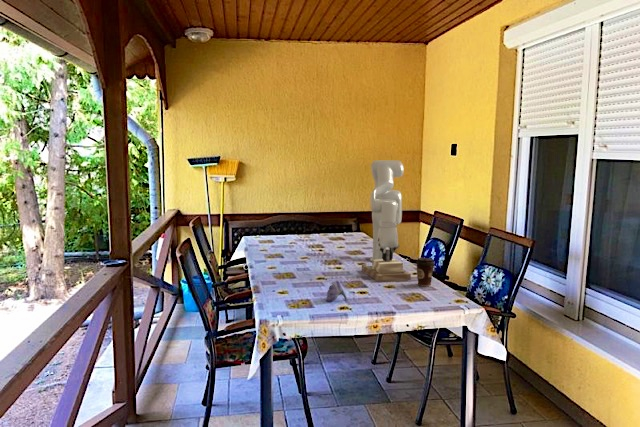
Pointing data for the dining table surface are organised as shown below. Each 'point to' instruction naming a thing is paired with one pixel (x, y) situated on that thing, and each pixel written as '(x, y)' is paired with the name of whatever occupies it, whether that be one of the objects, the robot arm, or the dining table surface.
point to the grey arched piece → (335, 291)
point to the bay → (385, 275)
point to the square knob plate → (387, 265)
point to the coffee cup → (424, 271)
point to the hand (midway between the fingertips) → (387, 260)
